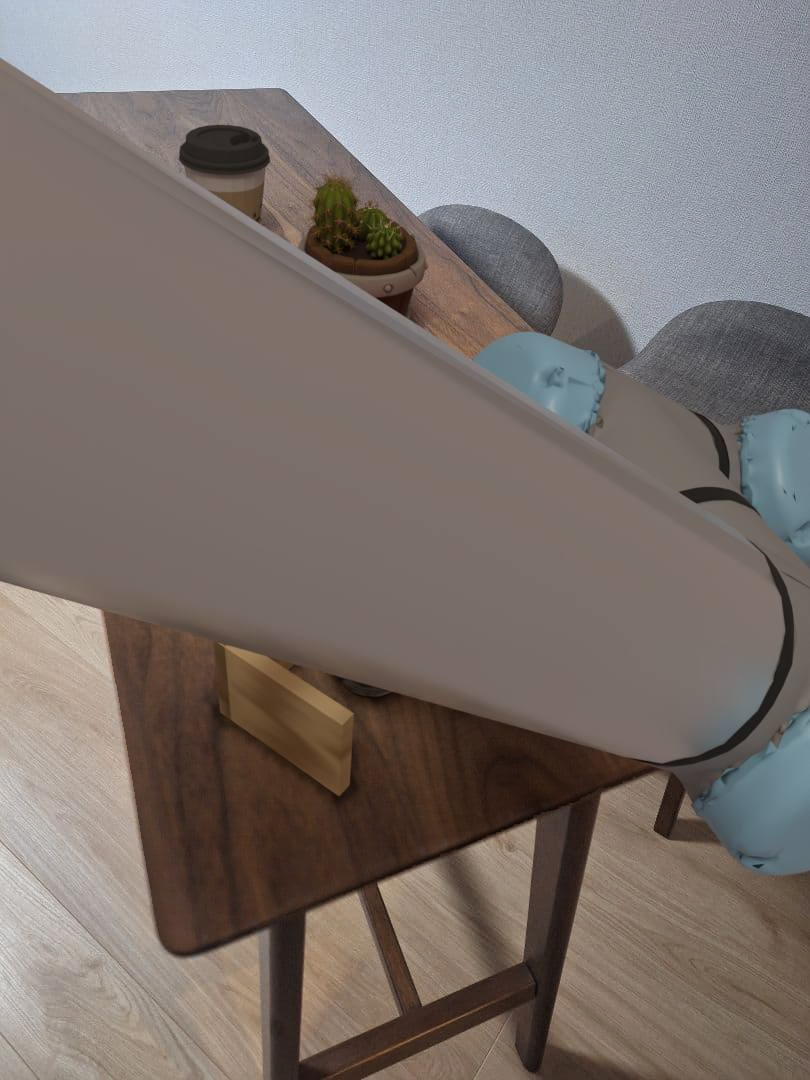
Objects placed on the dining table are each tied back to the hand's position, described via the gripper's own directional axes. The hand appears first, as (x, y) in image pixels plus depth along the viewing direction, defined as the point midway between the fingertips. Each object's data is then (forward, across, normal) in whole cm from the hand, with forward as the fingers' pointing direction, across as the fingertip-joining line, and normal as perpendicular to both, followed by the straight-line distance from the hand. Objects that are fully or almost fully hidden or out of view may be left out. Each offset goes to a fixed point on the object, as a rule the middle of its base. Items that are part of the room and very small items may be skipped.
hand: (335, 615), depth 69 cm
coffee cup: (+42, +46, +36) cm, 72 cm away
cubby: (0, 0, -5) cm, 5 cm away
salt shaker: (0, 0, -5) cm, 5 cm away
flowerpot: (+24, +41, +18) cm, 50 cm away
